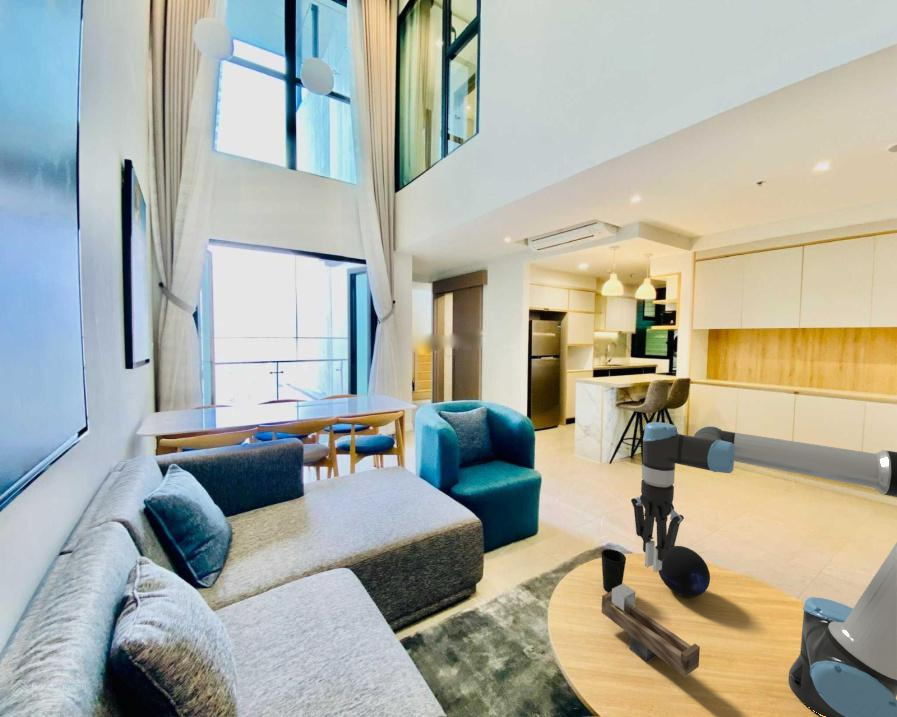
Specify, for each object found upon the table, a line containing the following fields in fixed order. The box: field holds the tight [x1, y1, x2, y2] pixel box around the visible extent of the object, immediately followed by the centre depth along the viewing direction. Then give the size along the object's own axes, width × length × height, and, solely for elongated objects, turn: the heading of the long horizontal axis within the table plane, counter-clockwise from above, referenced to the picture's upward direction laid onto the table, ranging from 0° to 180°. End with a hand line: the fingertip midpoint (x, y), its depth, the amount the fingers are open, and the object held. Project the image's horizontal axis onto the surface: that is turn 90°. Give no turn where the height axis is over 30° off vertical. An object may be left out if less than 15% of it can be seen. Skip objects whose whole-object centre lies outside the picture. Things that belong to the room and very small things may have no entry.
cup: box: [600, 548, 627, 593], centre depth 128 cm, size 8×8×12 cm
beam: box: [601, 591, 701, 678], centre depth 103 cm, size 24×6×9 cm, turn 29°
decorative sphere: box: [657, 545, 711, 598], centre depth 127 cm, size 15×15×15 cm
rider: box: [611, 583, 636, 614], centre depth 109 cm, size 4×5×7 cm
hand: (653, 567), depth 101 cm, fingers closed
